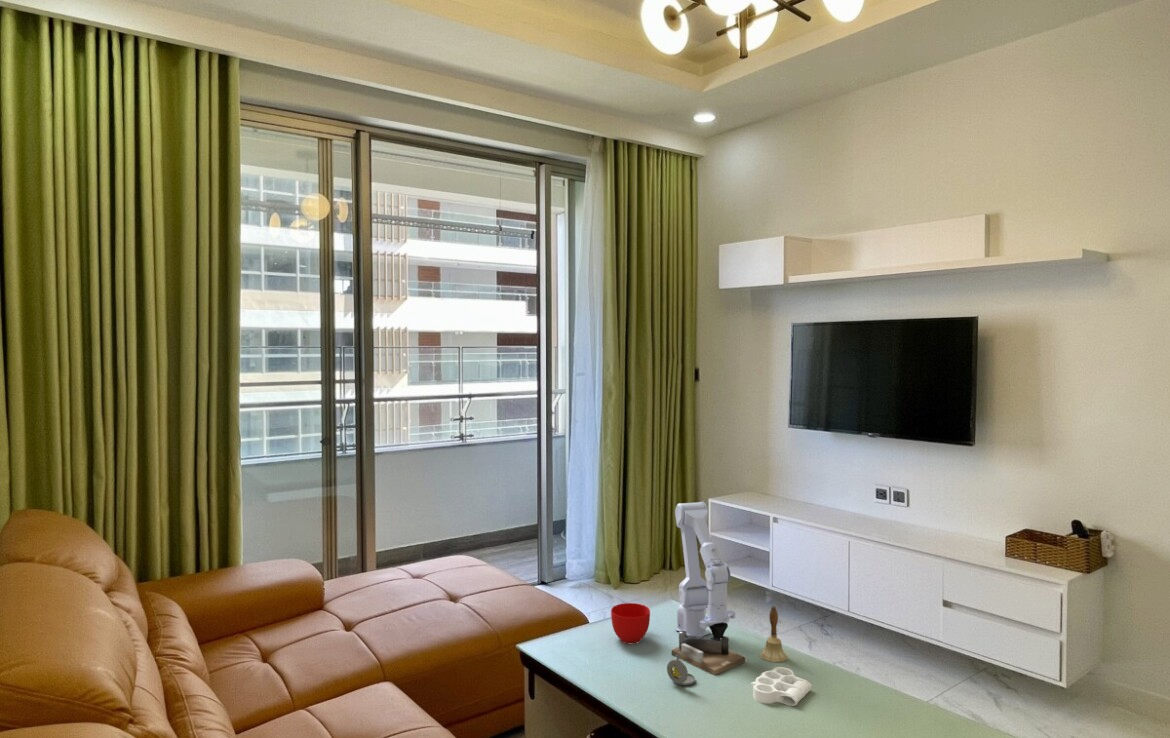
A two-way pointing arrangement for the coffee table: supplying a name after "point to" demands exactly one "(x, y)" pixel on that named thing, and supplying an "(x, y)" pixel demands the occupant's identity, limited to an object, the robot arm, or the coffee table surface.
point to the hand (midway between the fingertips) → (717, 645)
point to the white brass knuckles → (780, 687)
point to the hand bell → (773, 642)
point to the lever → (705, 643)
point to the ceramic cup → (630, 621)
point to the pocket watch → (679, 672)
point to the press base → (709, 659)
